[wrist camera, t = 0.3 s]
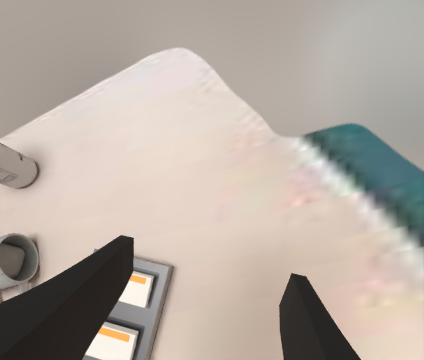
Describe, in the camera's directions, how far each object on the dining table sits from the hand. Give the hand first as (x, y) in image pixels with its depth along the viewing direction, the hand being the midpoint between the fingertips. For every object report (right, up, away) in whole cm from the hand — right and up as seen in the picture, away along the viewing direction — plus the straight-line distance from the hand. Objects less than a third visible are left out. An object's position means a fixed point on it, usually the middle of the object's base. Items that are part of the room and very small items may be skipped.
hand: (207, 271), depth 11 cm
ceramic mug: (-32, -11, +29) cm, 44 cm away
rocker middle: (-14, -17, +22) cm, 31 cm away
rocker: (-13, -11, +24) cm, 29 cm away
